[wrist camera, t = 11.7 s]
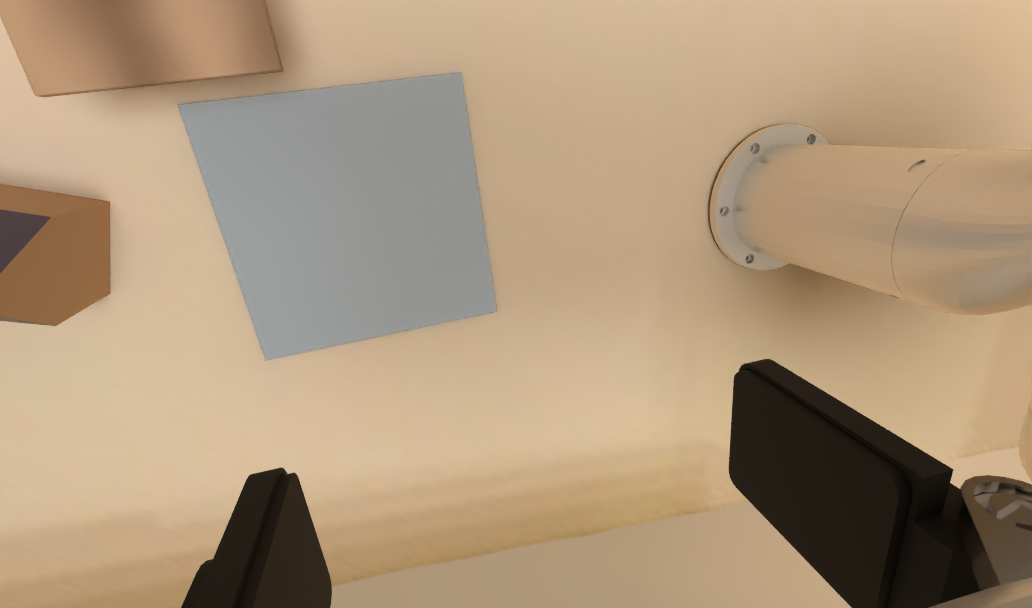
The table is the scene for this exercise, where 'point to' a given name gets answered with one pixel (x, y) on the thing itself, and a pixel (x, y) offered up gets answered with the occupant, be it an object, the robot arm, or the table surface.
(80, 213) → the toy building blocks
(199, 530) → the table surface
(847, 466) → the robot arm
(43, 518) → the table surface
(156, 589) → the table surface
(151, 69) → the lid
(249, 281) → the mat
